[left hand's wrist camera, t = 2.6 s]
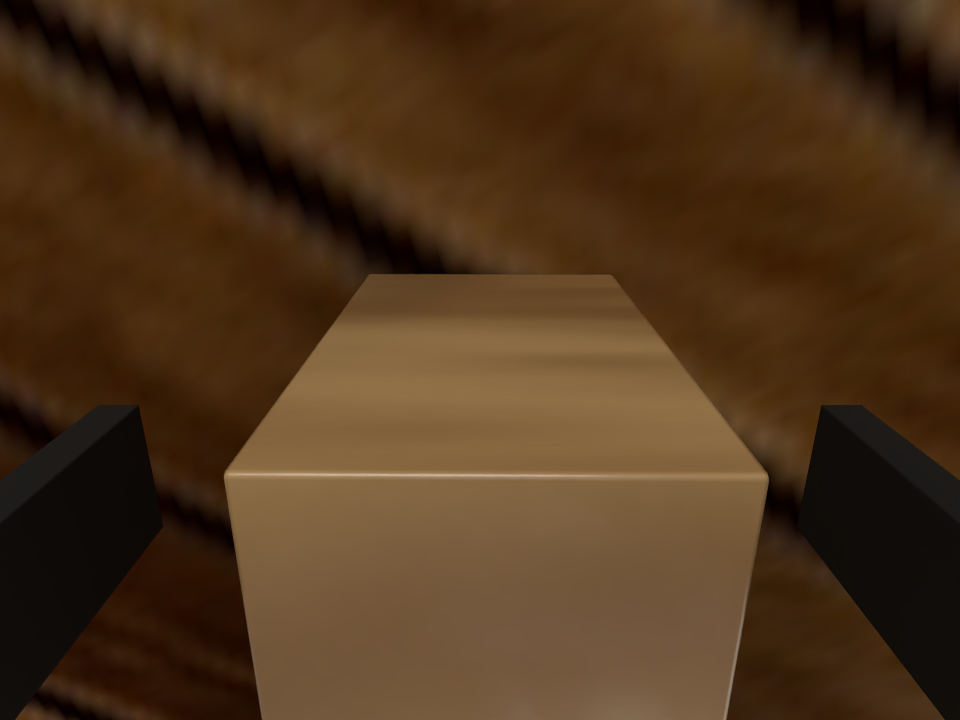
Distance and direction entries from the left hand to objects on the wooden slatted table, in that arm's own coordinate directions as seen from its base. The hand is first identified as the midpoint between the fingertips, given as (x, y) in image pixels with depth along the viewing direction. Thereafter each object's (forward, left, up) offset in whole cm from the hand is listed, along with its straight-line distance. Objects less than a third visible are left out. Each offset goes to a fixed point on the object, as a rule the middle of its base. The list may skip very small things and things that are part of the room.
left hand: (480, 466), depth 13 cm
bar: (-4, +7, -3) cm, 9 cm away
